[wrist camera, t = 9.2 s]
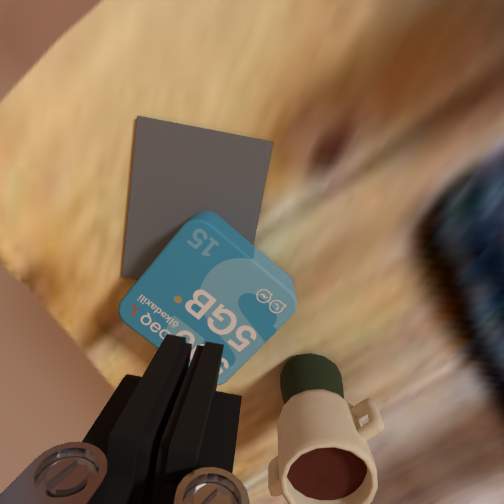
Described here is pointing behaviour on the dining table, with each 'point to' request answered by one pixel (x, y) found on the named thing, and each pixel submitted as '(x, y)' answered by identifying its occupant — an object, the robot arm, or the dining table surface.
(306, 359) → the character mug
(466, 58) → the dining table surface
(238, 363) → the data package
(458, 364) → the dining table surface
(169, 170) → the mat
